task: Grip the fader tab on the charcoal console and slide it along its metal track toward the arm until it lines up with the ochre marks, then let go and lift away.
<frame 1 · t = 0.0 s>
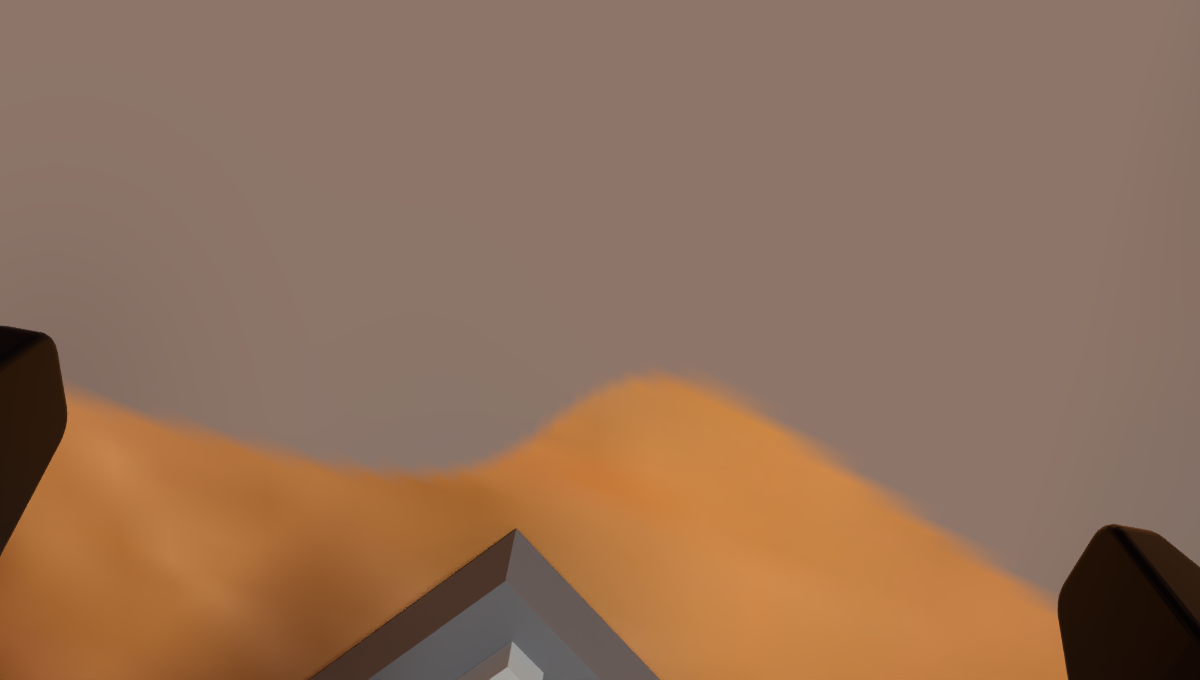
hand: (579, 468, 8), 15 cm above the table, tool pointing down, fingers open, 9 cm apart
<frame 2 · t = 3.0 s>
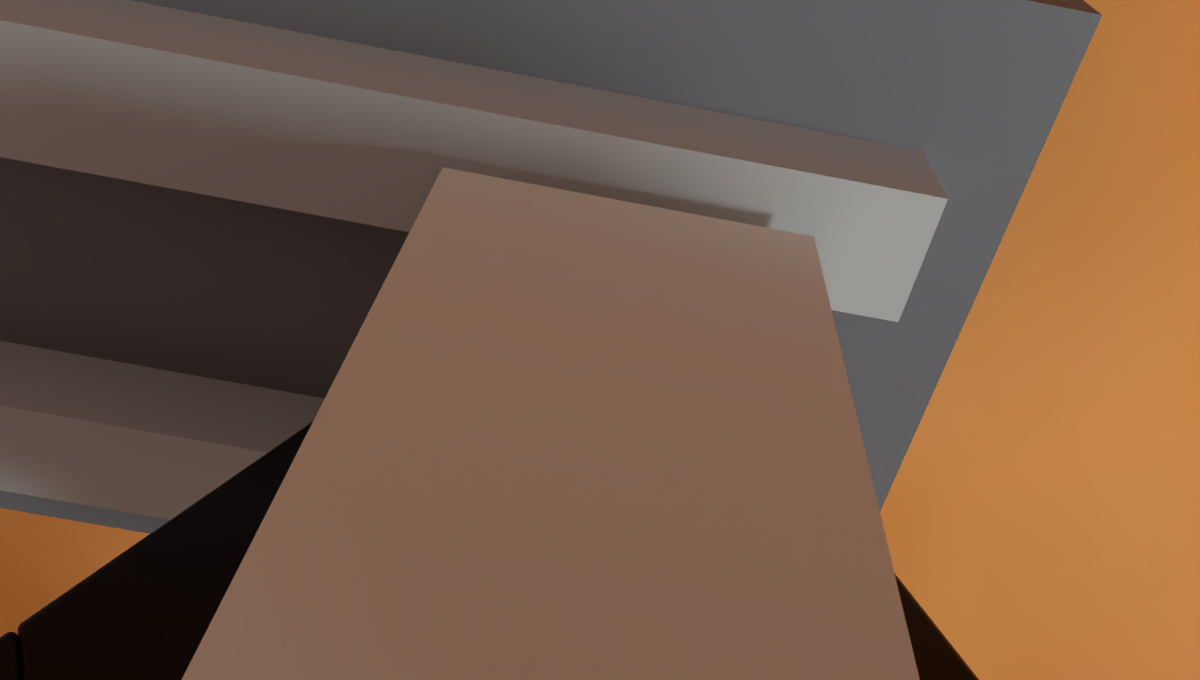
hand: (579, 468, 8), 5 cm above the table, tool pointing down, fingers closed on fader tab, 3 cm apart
fader console: (291, 169, 12), on the table
fader tab: (564, 570, 7), point 6 cm above the table, slide at 4.0 cm, touching gripper
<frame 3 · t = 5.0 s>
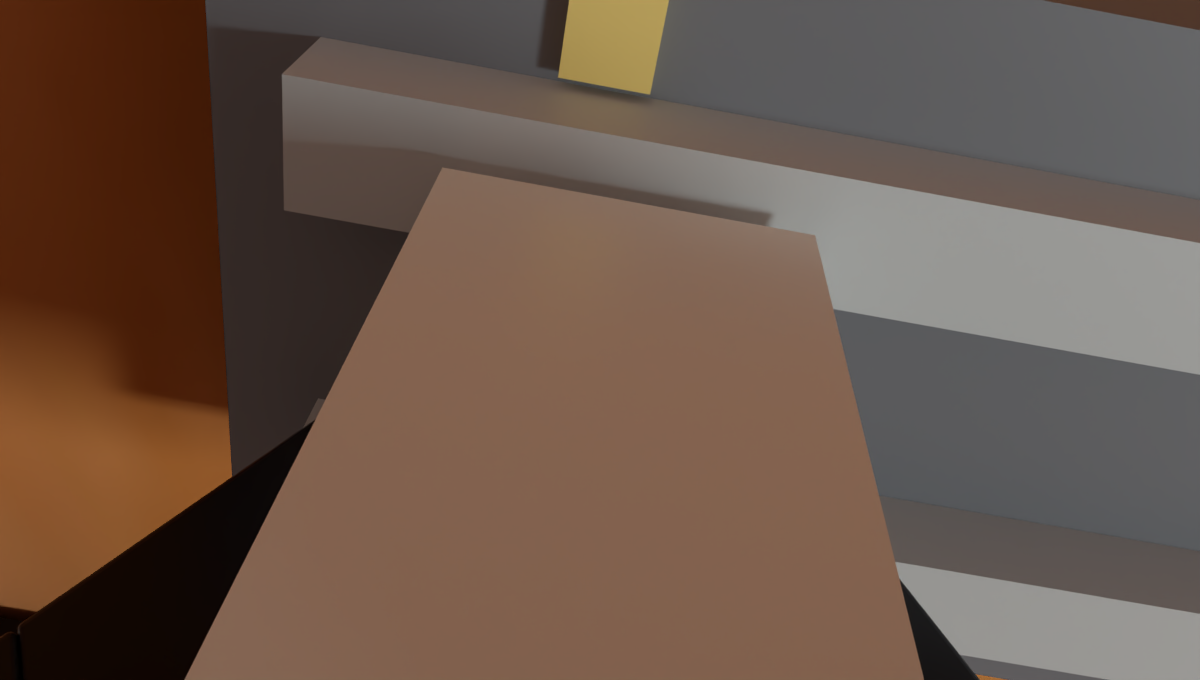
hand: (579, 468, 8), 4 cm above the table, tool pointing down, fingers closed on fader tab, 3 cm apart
fader console: (897, 280, 12), on the table
fader tab: (566, 571, 7), point 6 cm above the table, slide at -3.6 cm, touching gripper
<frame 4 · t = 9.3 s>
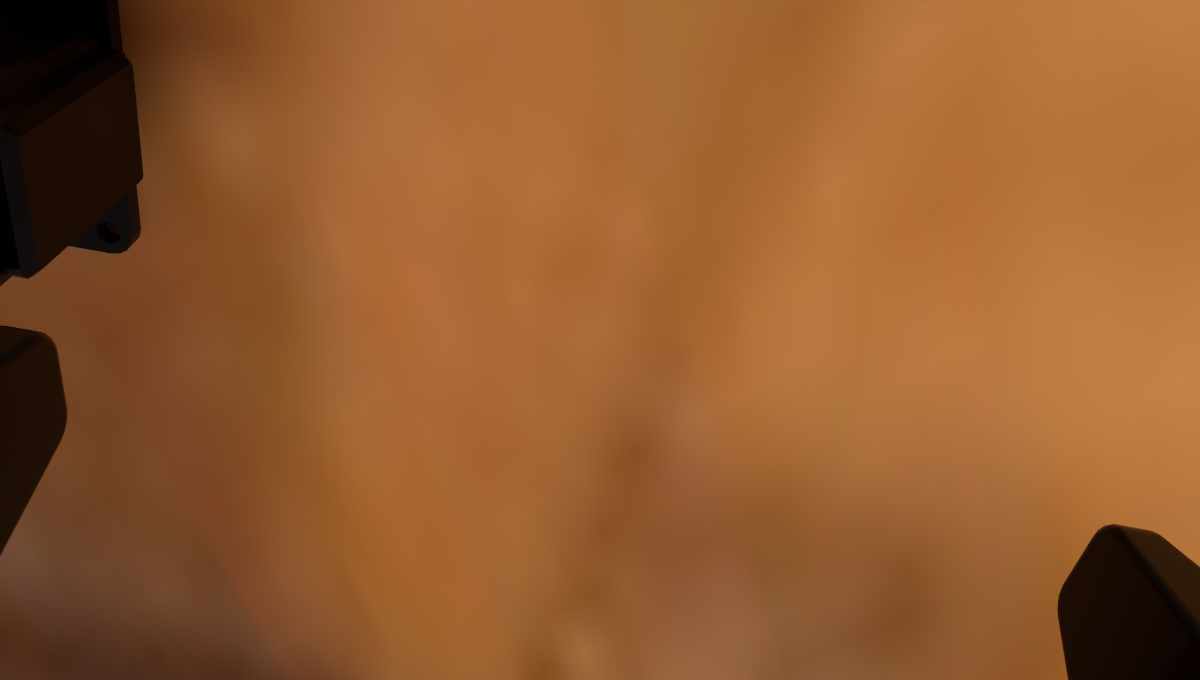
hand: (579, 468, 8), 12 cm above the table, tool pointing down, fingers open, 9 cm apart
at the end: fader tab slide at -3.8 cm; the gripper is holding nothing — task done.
